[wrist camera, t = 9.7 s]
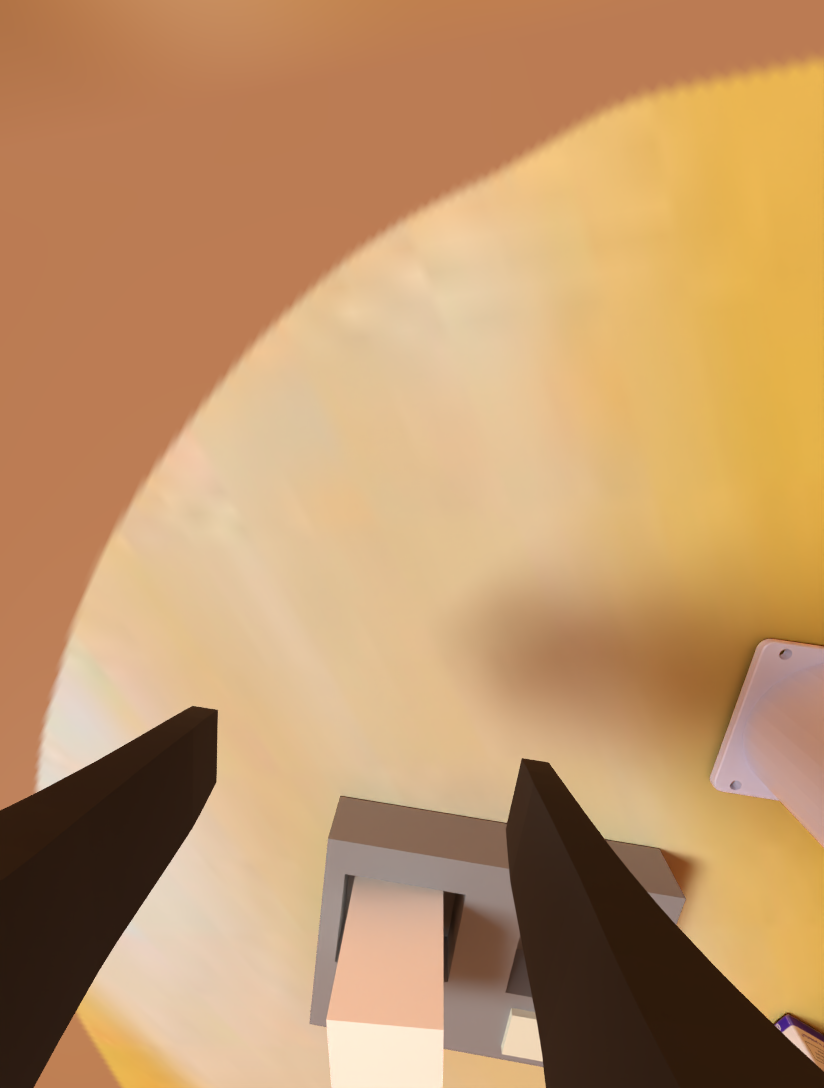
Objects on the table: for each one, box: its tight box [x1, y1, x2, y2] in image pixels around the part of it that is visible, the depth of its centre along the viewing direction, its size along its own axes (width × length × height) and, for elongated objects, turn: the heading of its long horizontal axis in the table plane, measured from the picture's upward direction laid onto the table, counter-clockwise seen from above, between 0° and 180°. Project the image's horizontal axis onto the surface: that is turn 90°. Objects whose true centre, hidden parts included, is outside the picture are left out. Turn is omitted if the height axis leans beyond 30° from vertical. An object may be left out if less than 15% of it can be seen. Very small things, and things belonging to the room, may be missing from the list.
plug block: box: [326, 876, 444, 1088], centre depth 20 cm, size 4×4×7 cm
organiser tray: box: [310, 796, 686, 1067], centre depth 23 cm, size 17×13×3 cm
